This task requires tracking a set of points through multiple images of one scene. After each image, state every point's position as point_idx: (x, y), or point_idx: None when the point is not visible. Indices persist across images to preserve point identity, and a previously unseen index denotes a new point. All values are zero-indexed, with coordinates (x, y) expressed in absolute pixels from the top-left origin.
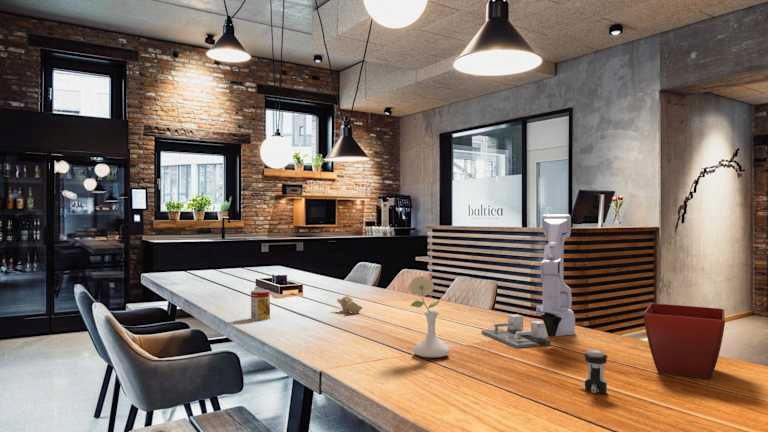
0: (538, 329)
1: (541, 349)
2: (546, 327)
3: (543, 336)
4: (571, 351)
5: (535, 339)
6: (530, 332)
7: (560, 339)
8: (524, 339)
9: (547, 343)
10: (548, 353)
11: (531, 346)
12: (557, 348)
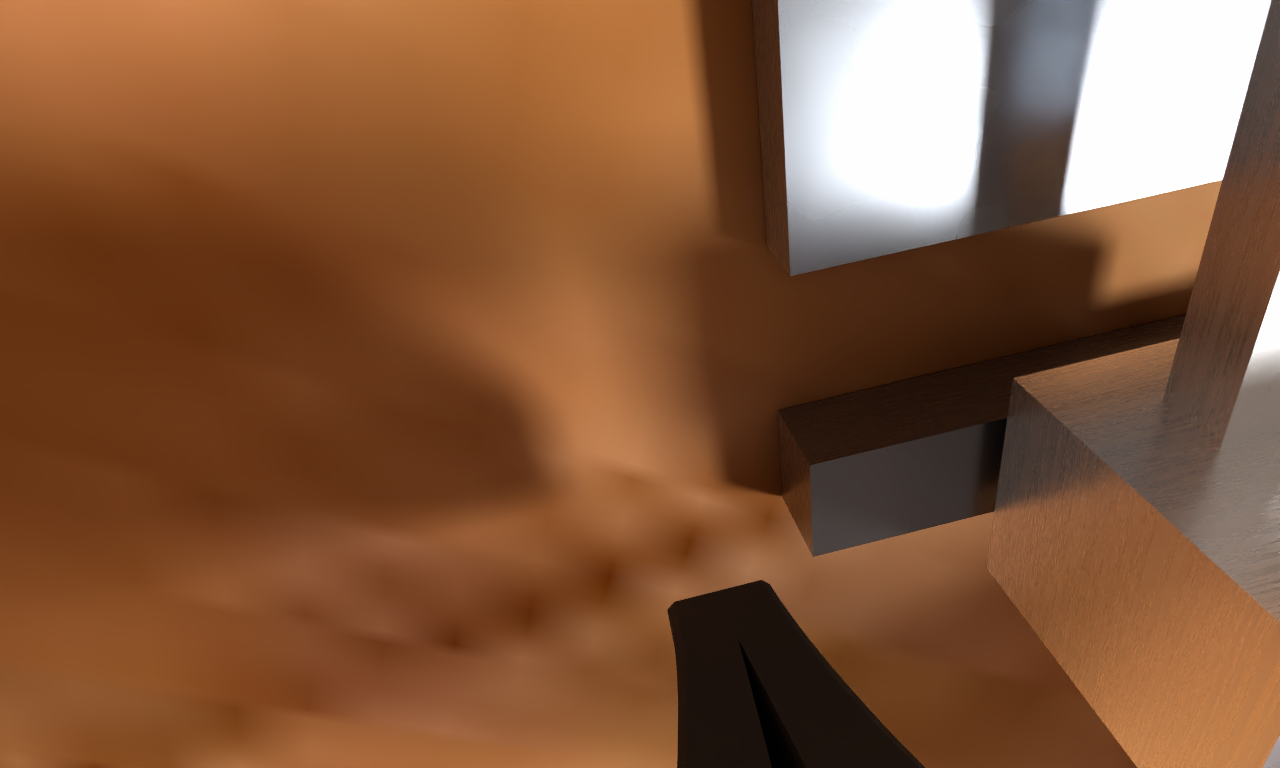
0: (1159, 538)
1: (471, 215)
2: (848, 762)
3: (1014, 515)
4: (283, 663)
5: None
6: (1242, 299)
7: (1024, 688)
8: (1227, 102)
9: (793, 467)
10: (41, 231)
11: (758, 75)
12: (521, 530)
